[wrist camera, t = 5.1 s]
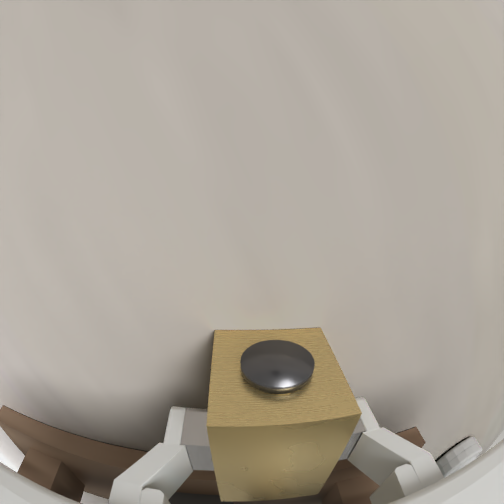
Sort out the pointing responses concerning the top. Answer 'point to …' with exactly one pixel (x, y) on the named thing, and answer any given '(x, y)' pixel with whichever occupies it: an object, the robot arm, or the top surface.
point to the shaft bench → (120, 459)
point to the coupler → (276, 413)
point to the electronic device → (459, 456)
